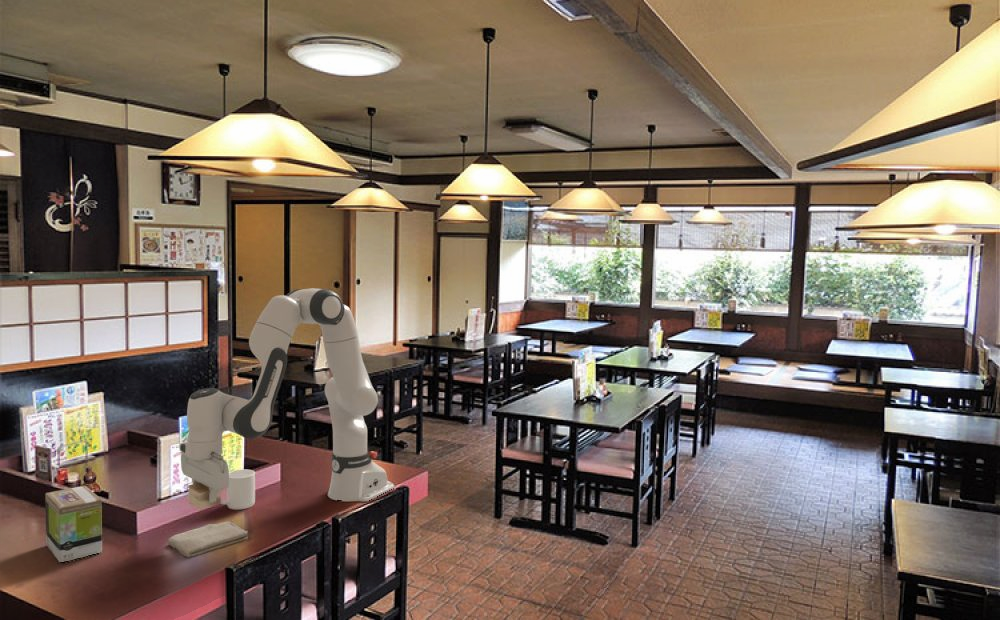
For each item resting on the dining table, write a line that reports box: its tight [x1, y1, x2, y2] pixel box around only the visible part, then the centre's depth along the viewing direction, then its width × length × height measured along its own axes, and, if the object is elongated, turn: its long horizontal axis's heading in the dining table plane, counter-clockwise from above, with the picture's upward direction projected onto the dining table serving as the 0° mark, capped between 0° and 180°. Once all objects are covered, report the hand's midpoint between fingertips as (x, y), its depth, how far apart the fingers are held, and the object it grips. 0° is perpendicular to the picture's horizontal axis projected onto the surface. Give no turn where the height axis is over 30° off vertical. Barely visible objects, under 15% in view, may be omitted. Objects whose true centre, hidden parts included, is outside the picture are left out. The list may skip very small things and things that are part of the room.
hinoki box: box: [188, 483, 222, 510], centre depth 186 cm, size 6×6×5 cm
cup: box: [221, 468, 256, 511], centre depth 212 cm, size 8×12×10 cm
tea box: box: [44, 485, 103, 563], centre depth 180 cm, size 15×10×15 cm
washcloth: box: [167, 520, 249, 558], centre depth 187 cm, size 12×18×3 cm, turn 139°
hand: (205, 497), depth 187 cm, fingers closed on hinoki box, 6 cm apart
